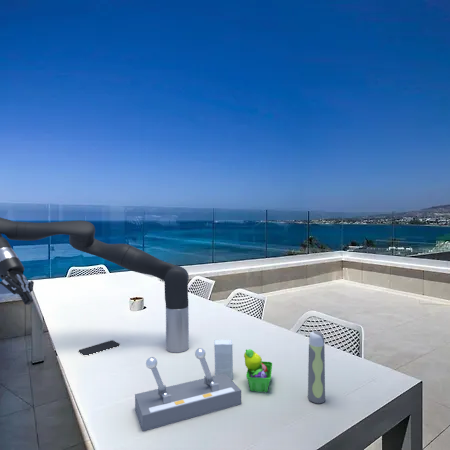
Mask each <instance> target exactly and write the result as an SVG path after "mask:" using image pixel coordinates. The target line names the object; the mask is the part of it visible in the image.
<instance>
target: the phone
mask: <svg viewBox="0 0 450 450" xmlns="http://www.w3.org/2000/svg"><path fill="white" fill-rule="evenodd" d="M119 345H120V343H119V342H117V341H115V340H113V339H112V340H111V339H110V340H107V341H105V342H101V343H98V344H94V345H91V346H87V347H84V348H81V349H79V352H80V353H79V352H78V353H79V354H81V353H82V354H83V355H88V356H90V355H89V354H92V355H94V354H93V353H95V354H97V353H96V352H98V353H100V351H101V352H103V350H105V351H107V350H106V349H108V350H111V349H113V347H115V348H118V347H120V346H121V345H120V346H119ZM117 346H118V347H117ZM110 348H111V349H110ZM82 354H81V355H82ZM83 355H82V356H83Z"/></svg>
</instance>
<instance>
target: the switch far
mask: <svg viewBox="0 0 450 450" xmlns="http://www.w3.org/2000/svg"><path fill="white" fill-rule="evenodd" d="M194 356H195V358H196V359H198V360H199V362H200V365H201V367H202V370H203V374H204V376H206V378H207V380H206V382H207V383H208V384H209V386H210V387H211V384H215V382H214V381H213V378H212V376H213V375H212V373H211V371H210V368H209V365H208V362H207V360H206V350H205V349H204V348H202V347H198V348H197V349H196V350H195V352H194Z"/></svg>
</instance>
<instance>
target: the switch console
mask: <svg viewBox="0 0 450 450" xmlns="http://www.w3.org/2000/svg"><path fill="white" fill-rule="evenodd" d="M212 378H213V381H214V382H215V384H211V387H210V386H209V384H208V383H207V382H206V380H207V378H206V376H205V375H204V377H203V378H200V379H196V380H192V381H191V380H190V381H187V382H181V383H178V384H177V383H176V384H173V385H169V386H166V384H163V385H164V387H165V389H166V392H167V394H168V395H165V396H163V398H162V396H161V394H160V390H159V387H158V386H157V388H156V389H151V390H148V391H143V392H139V393H135V394H134V408H135V412H136V415H137V418H138V421H139V425H140V428H141V430H142V432H145V431H149V430H152V429H156V428H160V427H163V426H167V425H171V424H174V423H177V422H181V421H186V420H189V419H192V418H196V417H199V416H203V415H206V414H211V413H214V412H216V411H220V410H225V409H228V408H232V407H235V406H238V405H242V389H241V388H240V387H239V386H238V385H237V384H236V383H235V382H234V381H233V380H231V379H230V378H229V377H228V376H227V375H226V374H221V375H217V376H215V375H214V376H213V375H212Z"/></svg>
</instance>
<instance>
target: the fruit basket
mask: <svg viewBox="0 0 450 450" xmlns="http://www.w3.org/2000/svg"><path fill="white" fill-rule="evenodd" d="M243 358H244V362H245V363H244V365H245V366H246V368H247V371H246V375H245V376H246V380H247V382H248V385H249V387H248V388H249V389H250V392H256V393H257V392H259V393H268V390H269V386H270V382H271V380H272V371H273V362H271V361H263V360H262V357H261V355H259V354H258V353H257V352H256V351H254V350H253V349H251V348H250V349H245V352H244V354H243Z"/></svg>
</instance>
